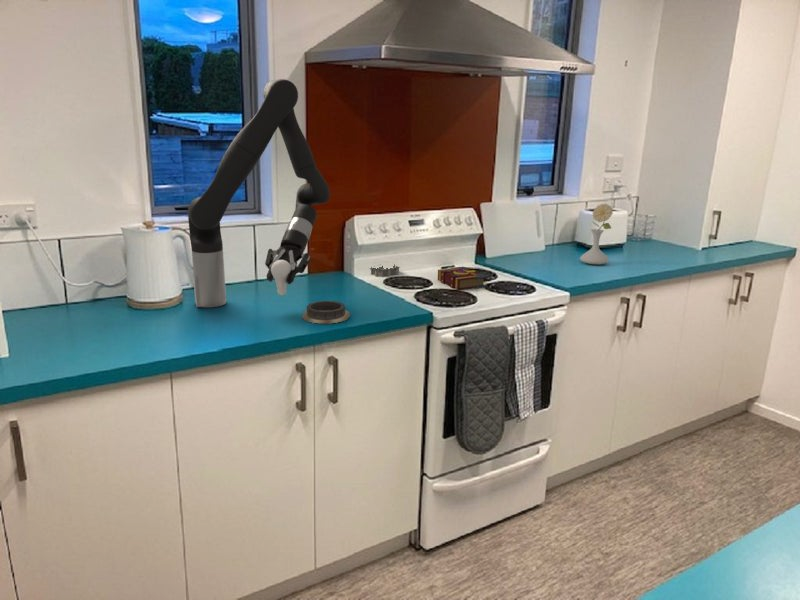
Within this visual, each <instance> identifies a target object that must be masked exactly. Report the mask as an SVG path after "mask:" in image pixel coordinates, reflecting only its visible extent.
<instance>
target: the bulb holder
mask: <svg viewBox="0 0 800 600" xmlns="http://www.w3.org/2000/svg"><path fill="white" fill-rule="evenodd" d="M350 316H351V315H350V312H349V311H348V310H346V305H345V304H344V303H343V302H339V301H335V300H318V301H313V302H311V303H309V304H308V305H307V306H306V310H305V311H303V312H302V320H303V319H304V321H305V320H306V321H308V322H307V323H309V322H312V323H311V324H314V323H318V324H317V325H333V324H332V323H336V324H339V323H338V322H341V323H343V322H342V321H344V322H345V320H346V321H348V320H349V319H350V318H349V317H350ZM348 318H349V319H348ZM347 319H348V320H347ZM306 321H305V322H306Z"/></svg>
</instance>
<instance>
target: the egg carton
mask: <svg viewBox="0 0 800 600" xmlns="http://www.w3.org/2000/svg"><path fill="white" fill-rule="evenodd" d="M370 267H371V268H369V269H370V270H371V274H370V276H371V275H374V277H375V278H376V277H379V278H382V277H385V276H388V277H389V276H391V275H399V272H400V269H401V267H400V266H398V265H396V264H395V263H394V266H393V268H390V269H388V268H386V269H384V268H383V266H382V267H379V268H377V269H376V268H372V267H373V266H370ZM370 270H369V271H370Z"/></svg>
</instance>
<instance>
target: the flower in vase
mask: <svg viewBox="0 0 800 600" xmlns="http://www.w3.org/2000/svg"><path fill="white" fill-rule="evenodd" d="M613 213H614V212H613V207H612V206H611V205H609V204H607V203H600V204H599V205H597V206H596V207H594V210H593V211H592V219H593V220H594V221H597V222H598V223H602V224H601V226H599V224H598V223H595V222H594V221H592V223H593V224H594V225H595V226H597V227H599V228H598V229H596V228H593V229H591V230H590V231H591V233H592V236H593V239H592V242H593V243H592V247H591V248H590V249H589V250H587V251H586V252H585V253H583V254H582V255H581V256H580V258H579V259H580V261H581V262H583V263H585V264H589V265H604V264H607V263H609V261H610V260H609V257H608V256H607V255H606V254H605V253H604V252H603V251H602V250H601V249H600V246H599V245H600V244H599V243H600V239H601V236H602V234H603V232H604V231H605V230H610V229H612V227H611V225H610V223H609V222H607V221H608V220H609V219H610V218H612V217H611V216H612V215H613ZM602 227H603V229H604V230H603V229H601V228H602Z"/></svg>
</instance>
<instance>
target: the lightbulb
mask: <svg viewBox="0 0 800 600" xmlns="http://www.w3.org/2000/svg"><path fill="white" fill-rule="evenodd" d="M290 271H291V265H290V264H289V263H288V262H287V261H285V260H277V261H276V262H274V263H273V265H272V267H271V273H272V275H273V277H274V278H273V280H274V281H275V285H276V289H277V294H278V295H280V296H281V297H282V296H284V295H286V294H287V287H288V284H287V282H286V279H287V276H288V274H289V273H290Z"/></svg>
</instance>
